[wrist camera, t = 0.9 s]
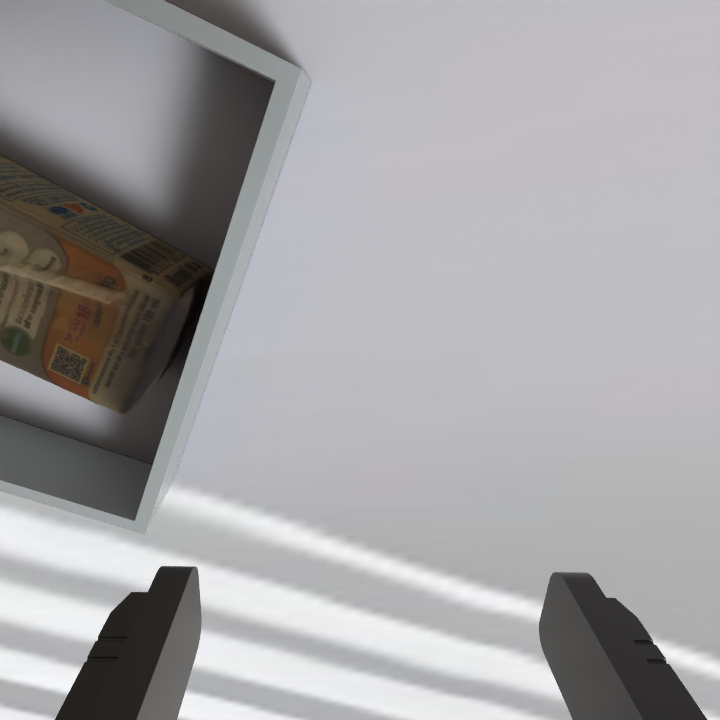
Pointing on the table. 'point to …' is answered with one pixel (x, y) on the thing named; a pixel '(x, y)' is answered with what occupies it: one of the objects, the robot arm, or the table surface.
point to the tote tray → (151, 482)
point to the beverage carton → (89, 293)
